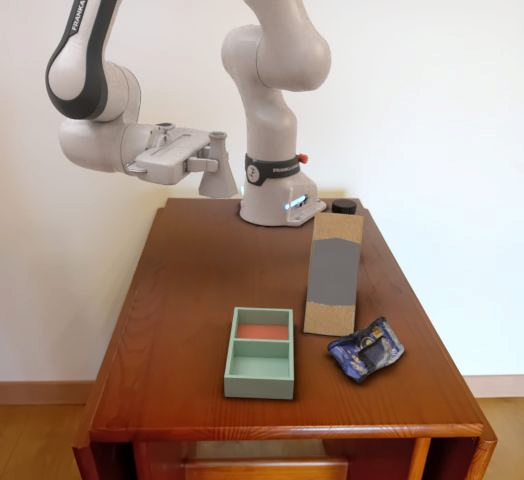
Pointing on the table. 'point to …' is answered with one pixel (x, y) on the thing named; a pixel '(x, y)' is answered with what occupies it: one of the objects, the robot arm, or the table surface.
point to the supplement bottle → (344, 206)
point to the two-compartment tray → (260, 354)
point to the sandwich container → (333, 274)
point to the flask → (218, 171)
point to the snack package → (366, 350)
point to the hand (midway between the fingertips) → (223, 161)
